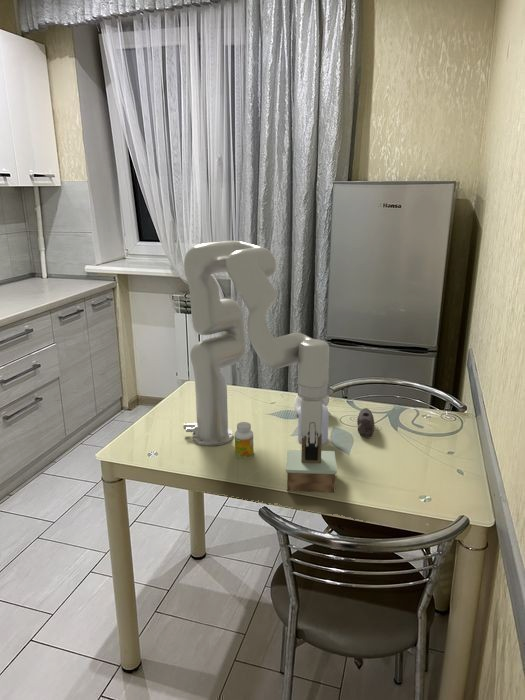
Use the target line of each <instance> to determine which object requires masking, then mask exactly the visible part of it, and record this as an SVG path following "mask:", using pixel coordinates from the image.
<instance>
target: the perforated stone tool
mask: <svg viewBox="0 0 525 700" xmlns="http://www.w3.org/2000/svg"><path fill="white" fill-rule="evenodd" d="M356 425H357V432H358V434H359V436H360V437H362V438H368V439H369V438H372V437H373V436H374V433H375V419H374V415H373V413H372V410H370V409H369V408H367V407H364V408H362V409H361V410H360V411H359V413H358V415H357V423H356Z"/></svg>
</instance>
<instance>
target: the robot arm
mask: <svg viewBox="0 0 525 700" xmlns="http://www.w3.org/2000/svg"><path fill="white" fill-rule="evenodd" d="M183 269H184V274H185V278H186V281H187V285H188V289H189V301H190V310H191V312H190V313H191V320H192V327H193V330H194V331H195V333H197V335H200V336H210V335H215V334H219V333H220V335H219V336H214V337H209V338H205V339H202V340H199V341H198V342H196V343H195V344H194V345H193V346H192V347H191V350H190V353H189V355H190V356H189V357H190V362H191V365H192V370H193V376H194V389H195V390H194V391H195V407H196V409H195V410H196V422H193V423H190V422H188V423H187V422H184V423H183V430H185V432H186V433H192V440H193V442H195V443H196V444H199V445H201V446H206V447H214V446H216V447H217V446H221V445H225V444H227V443H229V442H230V441H232V440H233V438H234V432H233V430H232V429H231V428H229V417H228V416H229V415H228V412H229V411H228V384H227V380H226V378H225V377H224V375H223V374H222V372H221V370H222V369H223V368H226V367H230V366H233V365H236V364H238V363H240V362H241V361H242V360H244V357H245V355H246V339H245V337H246V336H245V335H246V334H245V333H246V332H245V322H244V320H245V319H244V313H243V310H242V309H241V306H240V304H239V303H238V302H237V301H236V300H235V299H232V298H221V296H220V288H219V284H218V283H217V281H216V280H217V279H215V277H214V276H213V274H219V273H226V272H227V274H228V277H229V278H230V279H231V282H232V284H233V285H234V287H235V289H236V291H237V292H238V294H239V296H240V297H241V299H242V301H243V303H244V304H245V306H246V308H247V310H248V315H247V316H248V317H247V323H246V324H247V335H248V340H249V341H250V344H251V346H252V348H253V350H254V351H255V353H256V355H257V357H258V358H259V360H260V361H261V363H262V364H263V365H264V366H266V367H267V368H269V369H272V370H278V369H281V368H282V369H283V368H285V367H289V366H291V365H294V364H297V394H298V396H299V397H300V398H302V399H301V436H302V437H303V436H306V445H305V460H314V461H317V460H318V445H317V437H319V436H320V434H321V424H322V410H323V399H325V398H327V396H329V374H330V373H329V371H330V345H329V343H328V342H326V341H325V340H323V339H318V338H317V339H316V338H312V337H310V336H308V335H306V334H304V333H302V332H292V333H289V334H285V335H280V336H278V337H274V335H273V334H272V331H271V330H270V329H269V327H268V324H267V316H266V315H267V312H268V310H269V309H270V308H271V307H273V306H274V304H275V303H276V302H277V299H278V293H277V291H276V290H275V288H274V286H273V285H272V283H271V281H270V280H269V277H271V276H273V274H274V273H275V271H276V269H277V264H276V258H275V256H274V255H273V253H272V252H271V251H270V250H269V249H267V248H266V247H263V246H260V245H256V244H252V243H248V242H245V241H242V240H225V241H224V240H223V241H212V242H205V243H200V244H196V245H194V246H192V247H191V248H189V250H188V251H187V252H186V254H185V256H184V261H183ZM308 433H310V434H308ZM315 433H316V434H315ZM309 438H310V440H309Z"/></svg>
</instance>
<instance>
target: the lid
mask: <svg viewBox="0 0 525 700" xmlns="http://www.w3.org/2000/svg"><path fill="white" fill-rule="evenodd" d="M308 434H310V433H308ZM315 434H316V433H315ZM309 440H310V438H309ZM305 445H306V436H303V437H302V443H301V449H287V450H286V466H285V467H286V468H285V473H286V474H287V473H314V474H335V475H338V474H337V473H338V469H337V460H336V453H335V450H322V446H323V445H322V435H321V434H320V436H319V437H317V445H318V460H317V461H314V460H305Z"/></svg>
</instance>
